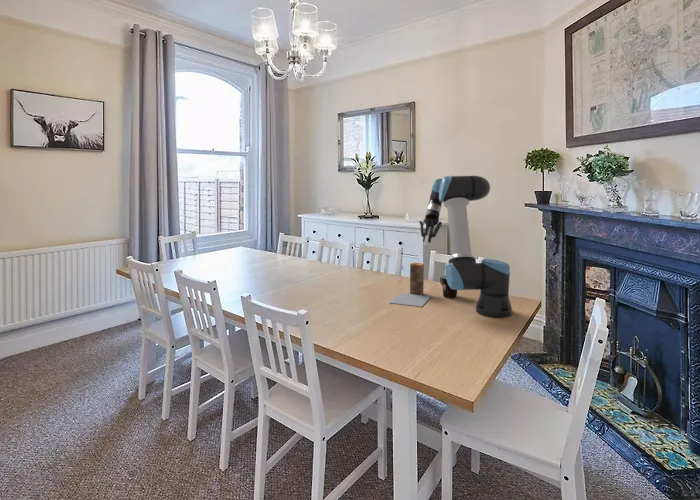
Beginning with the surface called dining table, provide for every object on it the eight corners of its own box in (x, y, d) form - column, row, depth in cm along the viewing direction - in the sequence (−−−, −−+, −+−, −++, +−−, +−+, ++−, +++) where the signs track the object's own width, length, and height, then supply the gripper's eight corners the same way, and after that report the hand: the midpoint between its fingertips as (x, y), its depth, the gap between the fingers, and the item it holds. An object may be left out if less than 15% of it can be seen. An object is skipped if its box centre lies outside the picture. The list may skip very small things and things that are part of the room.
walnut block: (423, 293, 209) (423, 263, 206) (421, 295, 206) (421, 264, 203) (412, 292, 212) (412, 262, 209) (409, 294, 208) (410, 264, 205)
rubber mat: (430, 296, 203) (430, 296, 203) (422, 307, 187) (422, 306, 187) (400, 293, 210) (400, 292, 210) (389, 303, 194) (389, 302, 194)
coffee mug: (460, 298, 199) (461, 279, 197) (443, 299, 199) (443, 279, 197) (454, 292, 210) (455, 273, 209) (438, 292, 211) (438, 273, 209)
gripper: (445, 217, 232) (438, 251, 220) (422, 217, 237) (414, 249, 225) (443, 209, 226) (436, 243, 214) (420, 208, 232) (412, 241, 220)
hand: (425, 246), depth 220 cm, fingers closed
